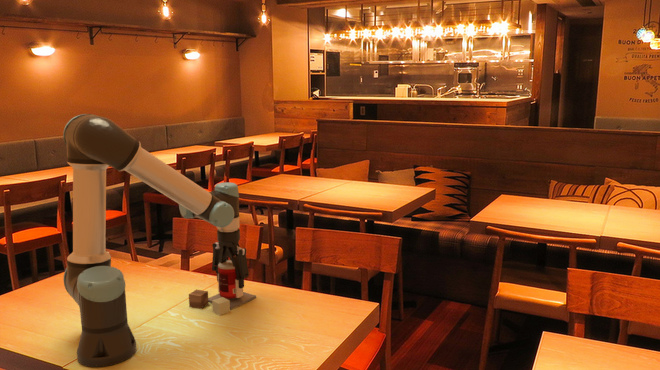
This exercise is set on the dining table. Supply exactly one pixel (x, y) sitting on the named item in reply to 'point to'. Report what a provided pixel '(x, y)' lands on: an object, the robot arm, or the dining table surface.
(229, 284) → the canned food
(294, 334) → the dining table surface
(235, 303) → the slate coaster
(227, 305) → the beige block
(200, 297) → the walnut block
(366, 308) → the dining table surface
